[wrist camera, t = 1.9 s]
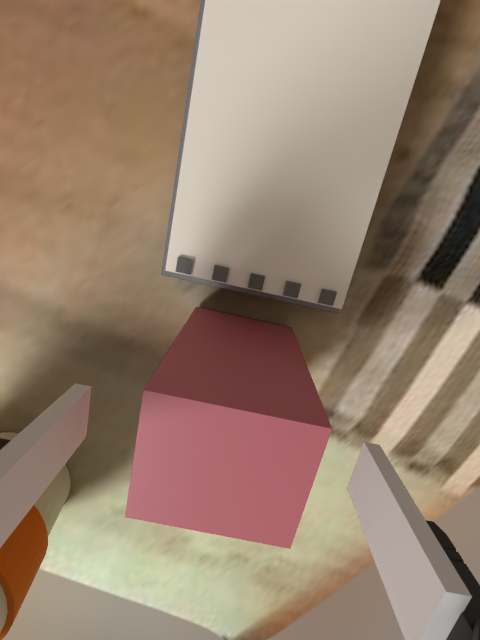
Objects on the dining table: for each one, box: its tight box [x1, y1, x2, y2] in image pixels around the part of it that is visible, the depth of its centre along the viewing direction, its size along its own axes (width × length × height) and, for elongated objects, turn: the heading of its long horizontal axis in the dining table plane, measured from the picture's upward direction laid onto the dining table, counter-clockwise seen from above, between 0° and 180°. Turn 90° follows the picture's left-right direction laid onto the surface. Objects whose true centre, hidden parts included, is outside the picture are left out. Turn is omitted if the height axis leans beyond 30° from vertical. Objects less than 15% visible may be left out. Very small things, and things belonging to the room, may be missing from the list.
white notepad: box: [161, 0, 440, 313], centre depth 18 cm, size 17×12×5 cm
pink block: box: [125, 307, 332, 549], centre depth 18 cm, size 6×7×12 cm
